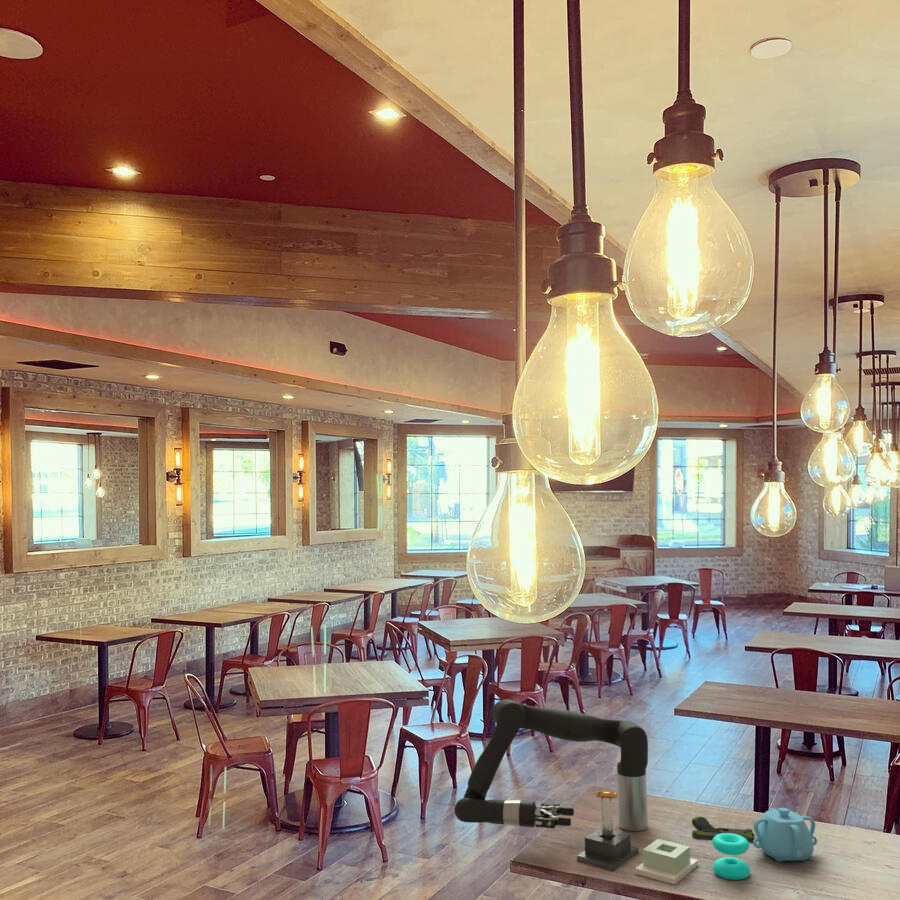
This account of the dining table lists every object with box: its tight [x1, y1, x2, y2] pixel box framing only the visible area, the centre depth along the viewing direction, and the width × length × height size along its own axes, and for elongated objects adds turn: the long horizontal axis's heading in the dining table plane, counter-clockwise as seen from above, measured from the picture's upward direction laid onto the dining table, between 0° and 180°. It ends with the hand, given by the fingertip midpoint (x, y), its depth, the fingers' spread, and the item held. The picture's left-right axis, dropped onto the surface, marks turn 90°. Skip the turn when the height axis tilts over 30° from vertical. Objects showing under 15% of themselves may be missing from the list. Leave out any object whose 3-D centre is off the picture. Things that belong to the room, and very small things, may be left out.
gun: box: [691, 816, 757, 843], centre depth 279 cm, size 2×19×15 cm
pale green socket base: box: [634, 838, 699, 885], centre depth 252 cm, size 16×12×6 cm
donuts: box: [711, 833, 751, 881], centre depth 248 cm, size 10×10×10 cm
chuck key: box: [595, 791, 618, 840], centre depth 262 cm, size 7×3×18 cm, turn 76°
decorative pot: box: [752, 807, 818, 863], centre depth 261 cm, size 16×16×14 cm
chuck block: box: [576, 827, 640, 872], centre depth 262 cm, size 16×12×6 cm
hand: (572, 816), depth 265 cm, fingers open, 8 cm apart
